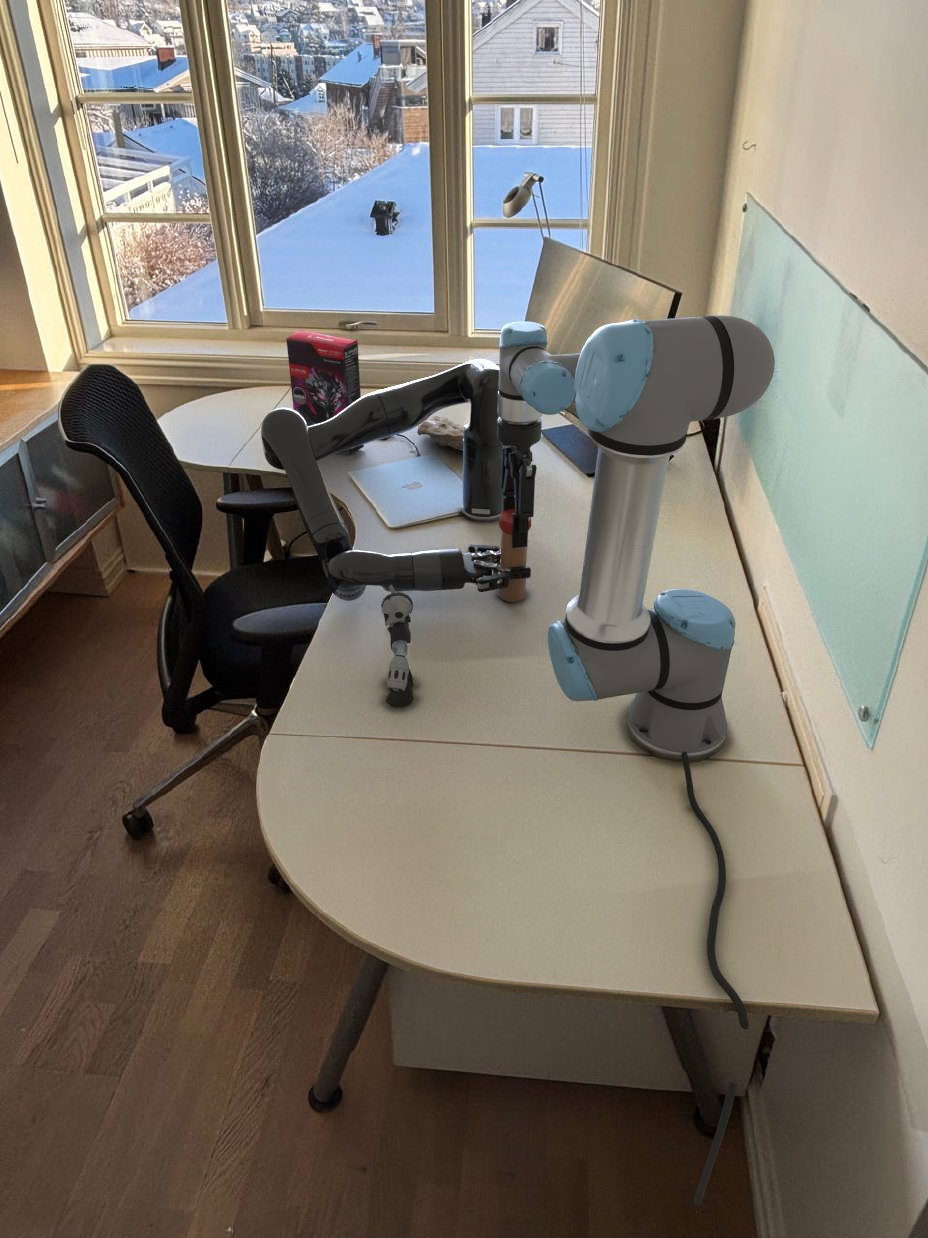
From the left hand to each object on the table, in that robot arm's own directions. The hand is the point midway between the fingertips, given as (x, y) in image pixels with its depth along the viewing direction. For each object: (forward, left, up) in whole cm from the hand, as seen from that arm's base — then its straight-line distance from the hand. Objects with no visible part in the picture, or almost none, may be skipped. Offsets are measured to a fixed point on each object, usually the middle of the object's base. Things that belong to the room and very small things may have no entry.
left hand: (526, 564), depth 172 cm
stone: (-71, -4, -7) cm, 72 cm away
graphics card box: (-75, -35, -7) cm, 83 cm away
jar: (0, -3, -7) cm, 7 cm away
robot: (+27, -26, -7) cm, 38 cm away
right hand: (0, -3, +6) cm, 6 cm away
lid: (0, -3, +10) cm, 10 cm away
